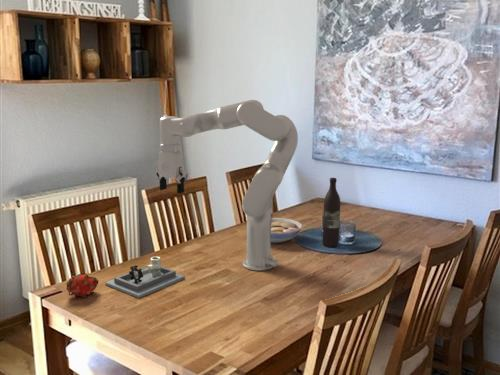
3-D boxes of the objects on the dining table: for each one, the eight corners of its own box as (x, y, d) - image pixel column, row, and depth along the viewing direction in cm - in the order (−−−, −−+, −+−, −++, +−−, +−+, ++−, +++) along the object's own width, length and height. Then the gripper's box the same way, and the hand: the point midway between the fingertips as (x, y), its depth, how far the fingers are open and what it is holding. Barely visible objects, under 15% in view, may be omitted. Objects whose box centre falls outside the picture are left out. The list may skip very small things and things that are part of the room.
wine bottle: (320, 246, 237) (323, 179, 230) (324, 241, 243) (327, 176, 237) (336, 248, 234) (339, 180, 228) (340, 243, 241) (343, 177, 234)
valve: (154, 271, 206) (129, 281, 196) (153, 254, 204) (128, 263, 195) (166, 275, 202) (141, 285, 192) (165, 258, 200) (140, 268, 191)
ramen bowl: (294, 252, 229) (294, 234, 228) (243, 246, 237) (243, 228, 235) (307, 235, 252) (308, 218, 251) (260, 230, 260) (260, 213, 258)
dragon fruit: (63, 304, 183) (96, 299, 192) (73, 296, 178) (107, 291, 186) (58, 280, 186) (91, 276, 194) (68, 271, 181) (101, 267, 189)
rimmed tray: (184, 278, 201) (184, 271, 201) (138, 298, 185) (138, 290, 184) (151, 267, 212) (151, 260, 212) (105, 284, 195) (105, 277, 195)
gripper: (148, 147, 214) (149, 189, 218) (179, 151, 204) (180, 196, 208) (162, 145, 220) (163, 186, 224) (193, 149, 210) (194, 192, 214)
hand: (171, 191), depth 216 cm, fingers open, 9 cm apart
